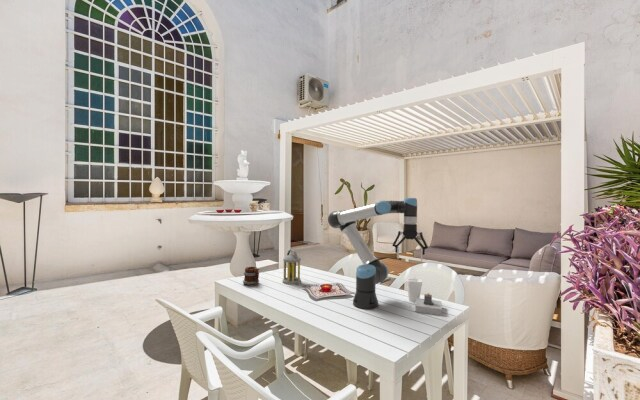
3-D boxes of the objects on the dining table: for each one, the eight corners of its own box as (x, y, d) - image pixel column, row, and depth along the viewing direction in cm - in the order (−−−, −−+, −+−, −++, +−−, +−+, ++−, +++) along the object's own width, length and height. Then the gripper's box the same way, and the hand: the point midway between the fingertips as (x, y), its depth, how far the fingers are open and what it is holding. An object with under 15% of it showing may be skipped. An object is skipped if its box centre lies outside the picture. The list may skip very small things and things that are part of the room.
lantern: (278, 281, 231) (279, 249, 231) (293, 278, 241) (293, 247, 241) (289, 285, 221) (290, 251, 221) (304, 282, 230) (305, 249, 230)
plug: (424, 308, 176) (424, 294, 176) (424, 305, 180) (424, 292, 180) (431, 309, 174) (431, 294, 174) (431, 306, 178) (431, 292, 178)
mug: (252, 280, 233) (254, 261, 231) (263, 287, 224) (265, 267, 222) (239, 282, 225) (241, 263, 223) (249, 290, 215) (252, 270, 213)
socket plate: (415, 311, 173) (415, 305, 173) (416, 303, 186) (416, 298, 186) (441, 315, 168) (441, 309, 168) (441, 307, 181) (441, 301, 181)
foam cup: (422, 303, 187) (422, 282, 187) (407, 302, 189) (407, 281, 189) (420, 298, 196) (420, 278, 196) (405, 297, 198) (406, 277, 198)
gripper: (388, 223, 181) (387, 258, 181) (432, 225, 172) (431, 262, 172) (389, 222, 188) (389, 256, 188) (432, 224, 179) (432, 259, 179)
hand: (409, 259), depth 180 cm, fingers open, 13 cm apart
